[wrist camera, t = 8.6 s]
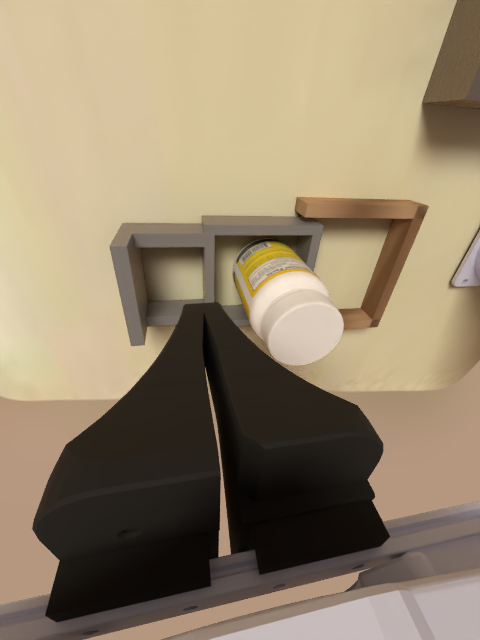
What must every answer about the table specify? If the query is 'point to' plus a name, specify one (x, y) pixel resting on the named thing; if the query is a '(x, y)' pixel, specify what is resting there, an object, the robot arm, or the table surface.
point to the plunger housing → (458, 60)
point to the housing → (392, 254)
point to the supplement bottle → (286, 302)
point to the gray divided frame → (203, 235)
